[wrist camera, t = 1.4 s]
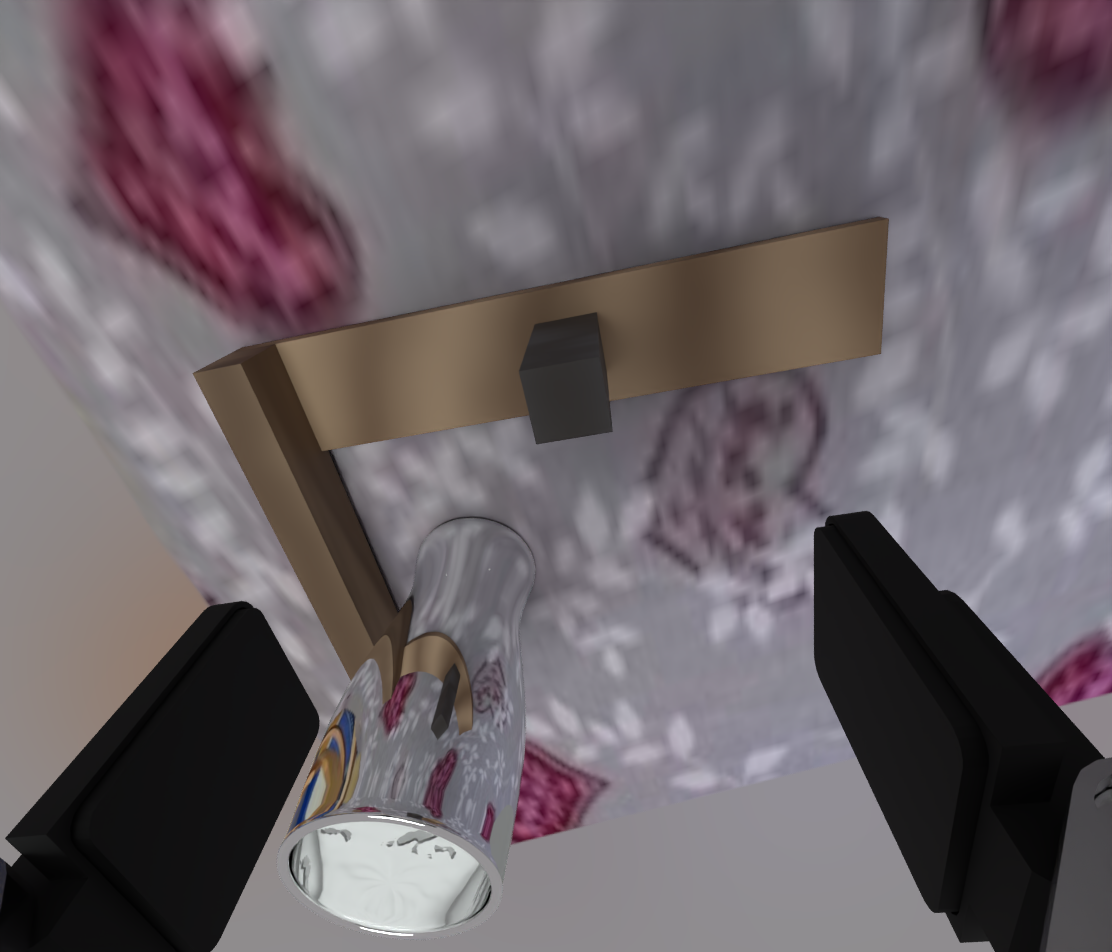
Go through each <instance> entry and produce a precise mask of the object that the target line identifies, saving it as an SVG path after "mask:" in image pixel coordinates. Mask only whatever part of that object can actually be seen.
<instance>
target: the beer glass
mask: <svg viewBox="0 0 1112 952" xmlns="http://www.w3.org/2000/svg"><path fill="white" fill-rule="evenodd" d="M535 573H536V570H535V562H534V558H533V555H532V553H531V551H530V549H529V547H528V546H527V544H526V543H525V542H524V540H523V539H522V538H521V537H520V536H519V535H518V534H516V533H515V532H514V531H512V530H511V529H509V528H508V527H506V526H504V525H502V524H500V523H497V522H494V521H491V520H487V519H482V518H460V519H455V520H452V521H449V522H446V523H444V524H442V525H440V526H439V527H437V528H436V529H434V530H433V531H432V532H431V533H430V534H429V535H428V536H427V537H426V538H425V540H424V541H423V543H422V545H421V547H420V550H419V553H418V556H417V562H416V569H415V577H414V583H413V587H412V589H411V592H410V595H409V596H408V598H407V600H406V602H405V604H404V605H403V607H402V608H401V610H400V611H399V613H398V614H397V616H396V617H395V618H394V620H393V621H392V622H391V624H390V625H389V626H388V628H387V629H386V630H385V632H384V633H383V635H382V636H381V637H380V639H379V640H378V641H377V643H376V644H375V646H374V647H373V648H372V650H371V651H370V653H369V654H368V655H367V657H366V658H365V660H364V661H363V663H362V665H361V666H360V668H359V669H358V671H357V672H356V674H355V676H354V677H353V679H352V680H351V682H350V683H349V685H348V687H347V688H346V690H345V692H344V694H343V696H342V698H341V700H340V702H339V704H338V706H337V708H336V710H335V712H334V714H333V716H332V718H331V720H330V722H329V724H328V727H327V729H326V731H325V734H324V736H323V738H322V741H321V743H320V745H319V748H318V750H317V752H316V755H315V757H314V760H313V763H312V765H311V768H310V771H309V773H308V776H307V779H306V781H305V784H304V787H303V789H302V792H301V795H300V798H299V801H298V803H297V806H296V809H295V812H294V815H293V818H292V820H291V823H290V826H289V828H288V831H287V833H286V836H285V838H284V841H283V842H282V844H281V846H280V848H279V851H278V855H277V870H278V874H279V877H280V879H281V881H282V883H283V884H284V886H285V887H286V889H287V890H288V891H289V892H290V894H291V895H292V896H293V897H294V898H295V899H296V900H297V901H298V902H300V903H301V904H302V905H303V906H305V907H306V908H307V909H309V910H311V911H312V912H313V913H315V914H317V915H318V916H320V917H322V918H324V919H326V920H328V921H330V922H332V923H335V924H337V925H339V926H342V927H345V928H348V929H350V930H354V931H357V932H361V933H365V934H369V935H373V936H379V937H385V938H392V939H404V940H425V939H436V938H442V937H448V936H452V935H456V934H460V933H463V932H466V931H468V930H471V929H473V928H475V927H477V926H479V925H480V924H482V923H483V922H485V921H486V920H487V919H488V918H489V917H490V916H491V915H492V914H493V913H494V912H495V911H496V909H497V908H498V906H499V904H500V901H501V898H502V893H503V880H504V875H505V869H506V864H507V859H508V854H509V849H510V844H511V839H512V835H513V829H514V824H515V818H516V813H517V807H518V802H519V795H520V788H521V780H522V773H523V766H524V753H525V739H526V703H525V687H524V675H523V664H522V653H521V641H520V622H521V616H522V612H523V609H524V607H525V604H526V602H527V600H528V597H529V595H530V593H531V590H532V587H533V584H534V580H535Z"/></svg>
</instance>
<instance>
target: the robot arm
mask: <svg viewBox="0 0 1112 952" xmlns="http://www.w3.org/2000/svg"><path fill="white" fill-rule="evenodd" d="M814 659H815V665H816V669H817V673H818V676H819V678H820V681H821V683H822V685H823V687H824V689H825V691H826V693H827V696H828V698H829V700H830V702H831V704H832V706H833V708H834V710H835V713H836V715H837V717H838V719H839V721H840V723H841V725H842V727H843V730H844V732H845V734H846V736H847V738H848V740H849V742H850V744H851V747H852V749H853V751H854V753H855V755H856V757H857V759H858V761H859V763H860V766H861V768H862V770H863V772H864V774H865V776H866V778H867V780H868V783H869V785H870V787H871V789H872V791H873V793H874V795H875V797H876V800H877V802H878V804H879V806H880V808H881V810H882V812H883V814H884V816H885V819H886V821H887V823H888V825H889V827H890V829H891V831H892V834H893V836H894V838H895V840H896V842H897V844H898V846H899V848H900V850H901V853H902V855H903V857H904V859H905V861H906V863H907V865H908V867H909V869H910V872H911V874H912V876H913V878H914V880H915V882H916V884H917V887H918V888H919V891H920V893H921V895H922V897H923V899H924V901H925V902H926V904H927V905H928V907H929V909H930V910H931V911H932V912H934V913H943V912H945V913H946V915H947V917H948V919H949V921H950V923H951V925H952V927H953V929H954V931H955V933H956V935H957V937H958V939H959V941H960V943H964V942H983V941H989V942H990V943H991V945H992V947H993V949H994V951H995V952H1112V758H1106V759H1105V758H1104V757H1103V756H1102V755H1101V754H1100V753H1099V751H1098V750H1097V749H1096V748H1095V747H1094V746H1093V744H1092V743H1091V742H1090V741H1089V740H1088V739H1087V738H1086V737H1085V736H1084V734H1083V733H1082V732H1081V731H1080V730H1079V729H1078V728H1077V727H1076V726H1075V724H1074V723H1073V722H1072V721H1071V720H1070V719H1069V718H1068V717H1067V716H1066V714H1065V713H1064V712H1063V711H1062V710H1061V709H1060V708H1059V707H1058V705H1057V704H1056V703H1055V702H1054V701H1053V700H1052V699H1051V698H1050V697H1049V695H1048V694H1047V693H1046V692H1045V691H1044V690H1043V689H1042V688H1041V687H1040V685H1039V684H1038V683H1037V682H1036V681H1035V680H1034V679H1033V678H1032V677H1031V675H1030V674H1029V673H1028V672H1027V671H1026V670H1025V669H1024V668H1023V666H1022V665H1021V664H1020V663H1019V662H1018V661H1017V660H1016V659H1015V658H1014V656H1013V655H1012V654H1011V653H1010V652H1009V651H1008V650H1007V649H1006V648H1005V646H1004V645H1003V644H1002V643H1001V642H1000V641H999V640H998V639H997V638H996V636H995V635H994V634H993V633H992V632H991V631H990V630H989V629H988V627H987V626H986V625H985V624H984V623H983V622H982V621H981V620H980V619H979V617H978V616H977V615H976V614H975V613H974V612H973V611H972V610H971V609H970V607H969V606H968V605H967V604H966V603H965V602H964V601H963V600H962V599H961V598H960V597H959V596H958V595H956V594H955V593H953V592H951V591H948V590H943V591H938V590H937V589H936V587H935V586H934V585H933V584H932V583H931V582H930V580H929V579H928V578H927V577H926V576H925V575H924V573H923V572H922V571H921V570H920V569H919V568H918V566H917V565H916V564H915V563H914V562H913V561H912V559H911V558H910V557H909V556H908V555H907V554H906V552H905V551H904V550H903V549H902V548H901V547H900V545H899V544H898V543H897V542H896V541H895V540H894V538H893V537H892V536H891V535H890V534H889V533H888V531H887V530H886V529H885V528H884V527H883V526H882V524H881V523H880V522H879V521H878V520H877V519H876V517H875V516H874V515H873V514H872V513H870V512H869V511H862V512H855V513H848V514H841V515H835V516H829V517H828V518H827V519H826V522H825V527H818V528H816V529H815V531H814ZM318 730H319V715H318V713H317V710H316V709H315V707H314V705H313V703H312V702H311V700H310V698H309V696H308V694H307V693H306V691H305V689H304V687H303V685H302V684H301V682H300V680H299V678H298V676H297V675H296V673H295V671H294V669H293V667H292V666H291V664H290V662H289V660H288V658H287V657H286V655H285V653H284V651H283V649H282V648H281V646H280V644H279V642H278V640H277V639H276V637H275V635H274V633H273V631H272V630H271V628H270V626H269V624H268V622H267V621H266V619H265V617H264V615H263V614H262V612H261V611H260V610H258V609H257V608H253V606H252V605H251V604H249V603H248V602H244V601H239V602H232V603H225V604H218V605H213V606H210V607H208V608H207V609H206V610H204V612H202V614H201V615H200V616H199V617H198V618H197V619H196V620H195V622H194V623H193V624H192V625H191V626H190V627H189V628H188V630H187V631H186V632H185V633H184V634H183V635H182V636H181V638H180V639H179V640H178V641H177V642H176V643H175V644H174V646H173V647H172V648H171V649H170V650H169V651H168V653H167V654H166V655H165V656H164V657H163V658H162V659H161V660H160V662H159V663H158V664H157V665H156V666H155V667H154V669H153V670H152V671H151V672H150V673H149V674H148V675H147V677H146V678H145V679H144V680H143V681H142V682H141V683H140V684H139V686H138V687H137V688H136V689H135V690H134V692H133V693H132V694H131V695H130V696H129V697H128V698H127V699H126V701H125V702H124V703H123V704H122V705H121V706H120V708H119V709H118V710H117V711H116V712H115V713H114V714H113V715H112V717H111V718H110V719H109V720H108V721H107V722H106V723H105V725H104V726H103V727H102V728H101V729H100V730H99V731H98V733H97V734H96V735H95V736H94V737H93V738H92V739H91V741H90V742H89V743H88V744H87V745H86V747H84V749H83V750H82V751H81V752H80V753H79V754H78V755H77V757H76V758H75V759H74V760H73V761H72V762H71V763H70V765H69V766H68V767H67V768H66V769H65V770H64V772H63V773H62V774H61V775H60V776H59V777H58V778H57V780H56V781H55V782H54V783H53V784H52V785H51V786H50V788H49V789H48V790H47V791H46V792H45V793H44V794H43V796H42V797H41V798H40V799H39V800H38V801H37V802H36V804H35V805H34V806H33V807H32V808H31V809H30V810H29V812H28V813H27V814H26V815H25V816H24V817H23V818H22V820H21V821H20V822H19V823H18V824H17V825H16V826H15V828H14V829H13V830H12V831H11V832H10V834H8V836H7V837H6V838H5V839H6V840H7V841H8V842H9V843H10V844H11V845H12V846H14V847H15V848H16V849H17V850H18V851H19V852H20V853H21V854H22V855H21V856H20V857H19V858H18V860H17V861H16V862H15V863H14V864H13V866H12V867H11V866H10V865H8V864H7V863H6V862H5V861H4V860H3V859H1V858H0V952H210V951H212V950H213V948H214V947H215V946H216V945H217V943H218V941H219V940H220V938H221V936H222V934H223V932H224V929H225V927H226V925H227V923H228V921H229V919H230V917H231V915H232V913H233V911H234V909H235V906H236V904H237V902H238V900H239V898H240V896H241V894H242V892H243V889H244V888H245V885H246V883H247V881H248V879H249V877H250V875H251V873H252V871H253V868H254V867H255V864H256V862H257V860H258V858H259V856H260V854H261V852H262V850H263V848H264V845H265V843H266V841H267V839H268V837H269V835H270V833H271V831H272V829H273V827H274V825H275V822H276V820H277V818H278V816H279V814H280V812H281V810H282V808H283V805H284V804H285V801H286V799H287V797H288V795H289V793H290V791H291V789H292V787H293V785H294V782H295V780H296V778H297V776H298V774H299V772H300V770H301V768H302V766H303V764H304V762H305V759H306V757H307V755H308V753H309V751H310V749H311V747H312V745H313V743H314V740H315V738H316V736H317V734H318Z"/></svg>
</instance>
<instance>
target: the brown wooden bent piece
mask: <svg viewBox="0 0 1112 952" xmlns="http://www.w3.org/2000/svg"><path fill="white" fill-rule="evenodd" d="M888 223H889V219H888V218H882V217H876V218H871V219H866V220H861V221H856V222H852V223H847V224H842V225H837V226H832V227H827V228H822V229H817V230H813V231H808V232H803V233H798V234H793V235H788V236H783V237H778V238H774V239H769V240H764V241H759V242H754V243H749V244H744V245H739V246H735V247H730V248H725V249H720V250H715V251H710V252H705V253H701V254H696V255H691V256H686V257H681V258H676V259H671V260H666V261H662V262H657V263H652V264H647V265H642V266H637V267H632V268H627V269H623V270H618V271H613V272H608V273H603V274H598V275H593V276H588V277H584V278H579V279H574V280H569V281H564V282H559V283H554V284H549V285H545V286H540V287H535V288H530V289H525V290H520V291H515V292H510V293H506V294H501V295H496V296H491V297H486V298H481V299H476V300H471V301H467V302H462V303H457V304H452V305H447V306H442V307H437V308H432V309H428V310H423V311H418V312H413V313H408V314H403V315H398V316H393V317H389V318H384V319H379V320H374V321H369V322H364V323H359V324H355V325H350V326H345V327H340V328H335V329H330V330H325V331H320V332H316V333H311V334H306V335H301V336H296V337H291V338H286V339H281V340H277V341H272V342H267V343H262V344H257V345H252V346H247V347H242V348H240V349H238V350H236V351H234V352H232V353H231V354H229V355H227V356H225V357H223V358H221V359H219V360H217V361H215V362H213V363H211V364H210V365H208V366H206V367H204V368H202V369H200V370H198V371H196V372H194V373H193V375H194V377H195V379H196V381H197V383H198V385H199V387H200V389H201V390H202V392H203V394H204V396H205V398H206V400H207V402H208V404H209V406H210V408H211V410H212V412H213V414H214V416H215V418H216V420H217V422H218V423H219V425H220V427H221V429H222V431H223V433H224V435H225V437H226V439H227V441H228V443H229V445H230V447H231V449H232V451H233V453H234V455H235V456H236V458H237V460H238V462H239V464H240V466H241V468H242V470H243V472H244V474H245V476H246V478H247V480H248V482H249V484H250V486H251V488H252V489H253V491H254V493H255V495H256V497H257V499H258V501H259V503H260V505H261V507H262V509H263V511H264V513H265V515H266V517H267V519H268V521H269V522H270V524H271V526H272V528H273V530H274V532H275V534H276V536H277V538H278V540H279V542H280V544H281V546H282V548H283V550H284V552H285V554H286V555H287V557H288V559H289V561H290V563H291V565H292V567H293V569H294V571H295V573H296V575H297V577H298V579H299V581H300V583H301V585H302V587H303V588H304V590H305V592H306V594H307V596H308V598H309V600H310V602H311V604H312V606H313V608H314V610H315V612H316V614H317V616H318V618H319V620H320V621H321V623H322V625H323V627H324V629H325V631H326V633H327V635H328V637H329V639H330V641H331V643H332V645H333V647H334V649H335V651H336V653H337V655H338V656H339V658H340V660H341V662H342V664H343V666H344V668H345V670H346V672H347V674H348V676H349V678H350V680H352V679H353V677H354V676H355V674H356V672H357V671H358V669H359V668H360V666H361V665H362V663H363V661H364V660H365V658H366V657H367V655H368V654H369V653H370V651H371V650H372V648H373V647H374V646H375V644H376V643H377V641H378V640H379V639H380V637H381V636H382V635H383V633H384V632H385V630H386V629H387V628H388V626H389V625H390V624H391V622H392V621H393V620H394V618H395V617H396V616H397V614H398V612H397V610H396V608H395V605H394V603H393V601H392V598H391V596H390V594H389V591H388V589H387V587H386V584H385V582H384V580H383V577H382V575H381V573H380V570H379V568H378V566H377V563H376V561H375V559H374V556H373V554H372V552H371V549H370V547H369V545H368V542H367V540H366V538H365V535H364V533H363V531H362V528H361V526H360V524H359V521H358V519H357V517H356V514H355V512H354V510H353V507H352V505H351V503H350V501H349V498H348V496H347V494H346V491H345V489H344V487H343V484H342V482H341V480H340V477H339V475H338V473H337V470H336V468H335V466H334V463H333V461H332V459H331V456H330V454H329V452H328V450H332V449H337V448H343V447H349V446H355V445H360V444H366V443H372V442H378V441H383V440H389V439H395V438H401V437H406V436H412V435H418V434H424V433H429V432H435V431H441V430H447V429H452V428H458V427H464V426H470V425H475V424H481V423H487V422H493V421H498V420H504V419H510V418H515V417H521V416H527V415H529V416H530V420H531V424H532V428H533V432H534V436H535V441H536V444H542V443H548V442H554V441H560V440H566V439H572V438H578V437H584V436H590V435H596V434H602V433H608V432H612V421H611V411H610V401H613V400H619V399H625V398H630V397H636V396H642V395H648V394H653V393H659V392H665V391H670V390H676V389H682V388H688V387H693V386H699V385H705V384H711V383H716V382H722V381H728V380H734V379H739V378H745V377H751V376H757V375H762V374H768V373H774V372H780V371H785V370H791V369H797V368H803V367H808V366H814V365H820V364H826V363H831V362H837V361H843V360H848V359H854V358H860V357H866V356H871V355H877V354H881V344H882V327H883V310H884V292H885V275H886V258H887V241H888Z"/></svg>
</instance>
